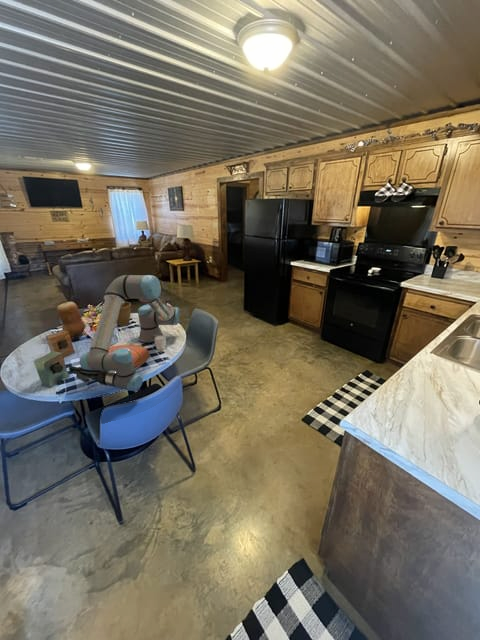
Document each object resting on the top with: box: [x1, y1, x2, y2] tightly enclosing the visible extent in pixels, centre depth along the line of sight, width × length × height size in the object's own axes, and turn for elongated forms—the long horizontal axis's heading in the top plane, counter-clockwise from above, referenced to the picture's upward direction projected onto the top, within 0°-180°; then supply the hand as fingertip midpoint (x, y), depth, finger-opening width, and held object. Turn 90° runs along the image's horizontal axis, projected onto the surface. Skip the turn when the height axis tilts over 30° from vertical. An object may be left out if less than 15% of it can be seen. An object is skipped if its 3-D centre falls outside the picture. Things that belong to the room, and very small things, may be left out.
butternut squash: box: [56, 301, 86, 339], centre depth 175 cm, size 14×13×25 cm
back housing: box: [45, 329, 76, 358], centre depth 156 cm, size 6×10×14 cm, turn 148°
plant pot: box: [116, 301, 132, 327], centre depth 197 cm, size 15×15×16 cm
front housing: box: [33, 351, 69, 388], centre depth 132 cm, size 6×10×14 cm, turn 163°
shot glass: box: [154, 335, 167, 351], centre depth 165 cm, size 7×7×7 cm
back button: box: [58, 341, 68, 349], centre depth 153 cm, size 3×4×4 cm
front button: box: [51, 364, 63, 373], centre depth 131 cm, size 3×4×4 cm
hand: (70, 369), depth 127 cm, fingers closed
